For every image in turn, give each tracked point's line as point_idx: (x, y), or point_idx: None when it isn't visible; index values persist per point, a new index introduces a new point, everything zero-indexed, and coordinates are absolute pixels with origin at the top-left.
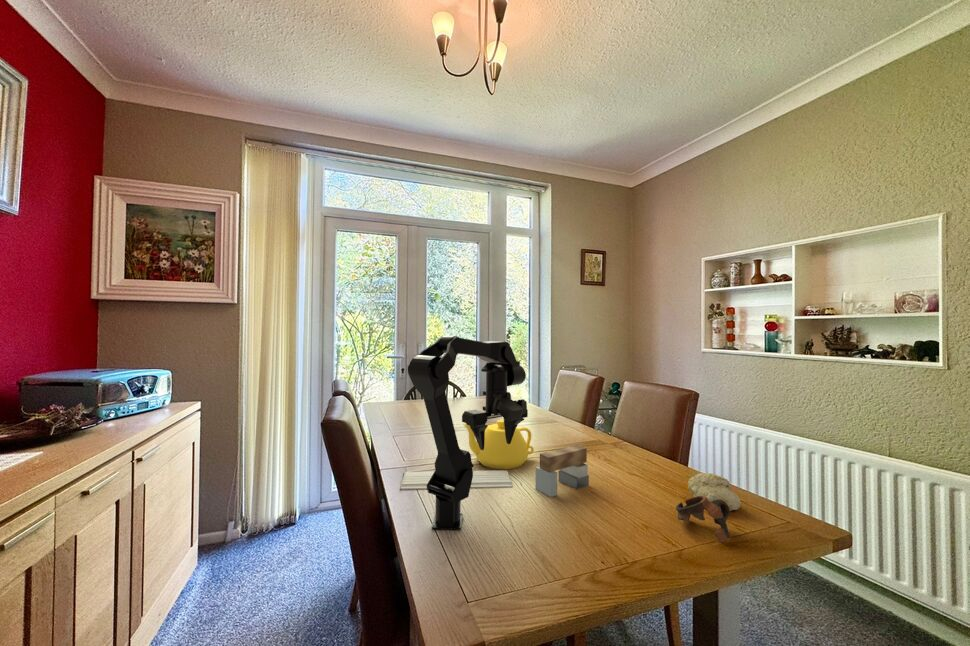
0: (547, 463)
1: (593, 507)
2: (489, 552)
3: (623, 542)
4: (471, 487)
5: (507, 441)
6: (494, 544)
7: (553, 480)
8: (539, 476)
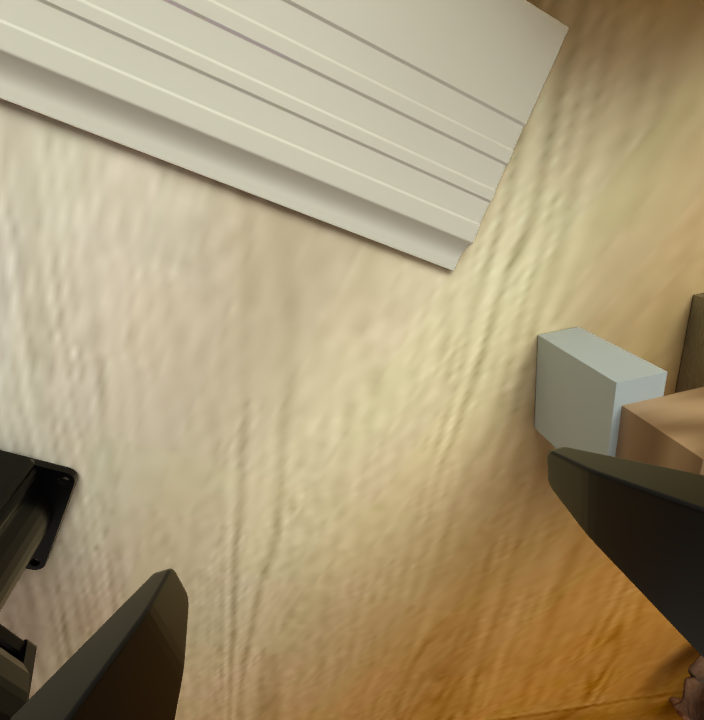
0: None
1: None
2: None
3: (502, 677)
4: (215, 179)
5: (561, 477)
6: None
7: None
8: (582, 394)
